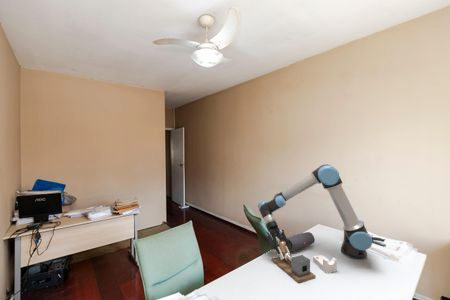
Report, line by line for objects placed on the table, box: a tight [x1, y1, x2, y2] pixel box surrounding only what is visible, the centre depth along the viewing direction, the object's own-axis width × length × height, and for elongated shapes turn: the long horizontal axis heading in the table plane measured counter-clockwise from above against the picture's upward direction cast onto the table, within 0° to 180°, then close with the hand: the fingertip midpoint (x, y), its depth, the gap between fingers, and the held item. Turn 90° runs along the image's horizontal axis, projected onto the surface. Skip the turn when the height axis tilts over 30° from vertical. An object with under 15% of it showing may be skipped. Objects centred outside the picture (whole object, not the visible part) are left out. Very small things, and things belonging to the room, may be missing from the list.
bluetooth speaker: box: [286, 231, 316, 252], centre depth 149 cm, size 23×9×10 cm, turn 120°
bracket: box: [312, 254, 338, 274], centre depth 127 cm, size 13×7×8 cm, turn 9°
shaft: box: [278, 240, 293, 261], centre depth 126 cm, size 17×5×10 cm, turn 23°
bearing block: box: [291, 254, 311, 277], centre depth 118 cm, size 6×8×8 cm
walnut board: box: [271, 256, 316, 284], centre depth 124 cm, size 24×12×2 cm, turn 23°
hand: (286, 258), depth 129 cm, fingers open, 5 cm apart
